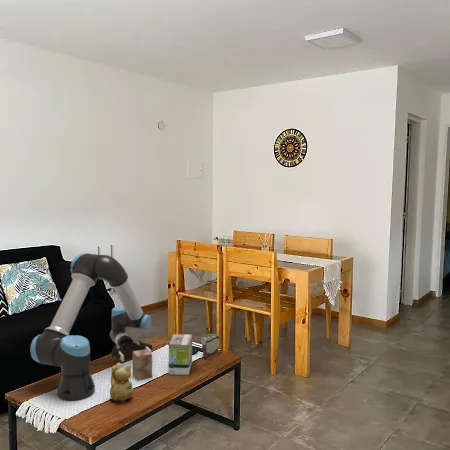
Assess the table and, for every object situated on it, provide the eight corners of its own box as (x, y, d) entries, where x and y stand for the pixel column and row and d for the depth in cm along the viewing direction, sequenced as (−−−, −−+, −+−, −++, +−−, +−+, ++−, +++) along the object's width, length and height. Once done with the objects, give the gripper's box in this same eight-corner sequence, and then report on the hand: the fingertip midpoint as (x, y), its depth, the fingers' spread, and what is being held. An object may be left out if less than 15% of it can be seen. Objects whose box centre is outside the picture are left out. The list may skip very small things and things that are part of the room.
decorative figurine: (135, 395, 196) (134, 361, 195) (129, 405, 188) (129, 369, 187) (112, 394, 197) (112, 360, 196) (106, 404, 189) (105, 368, 187)
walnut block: (137, 380, 211) (137, 356, 210) (132, 374, 217) (132, 351, 216) (152, 377, 214) (152, 353, 213) (147, 371, 220) (147, 348, 219)
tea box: (189, 375, 217) (189, 344, 215) (167, 375, 217) (167, 344, 215) (192, 362, 232) (192, 333, 230) (172, 362, 232) (172, 333, 230)
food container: (210, 350, 248) (210, 332, 247) (219, 353, 244) (220, 334, 243) (195, 357, 238) (195, 338, 237) (205, 360, 234) (205, 341, 233)
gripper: (147, 345, 247) (161, 359, 229) (100, 353, 235) (111, 368, 217) (147, 331, 247) (161, 344, 228) (99, 338, 235) (110, 353, 216)
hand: (137, 356), depth 222 cm, fingers open, 13 cm apart
